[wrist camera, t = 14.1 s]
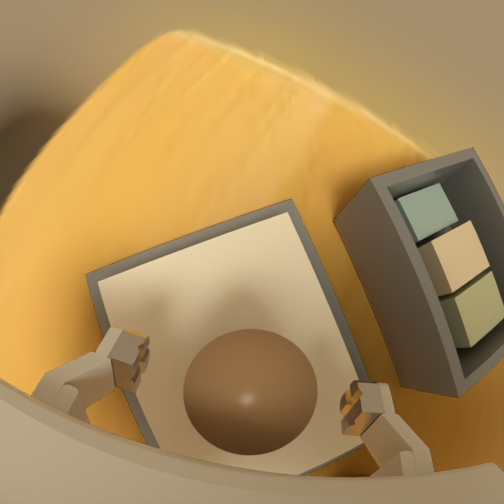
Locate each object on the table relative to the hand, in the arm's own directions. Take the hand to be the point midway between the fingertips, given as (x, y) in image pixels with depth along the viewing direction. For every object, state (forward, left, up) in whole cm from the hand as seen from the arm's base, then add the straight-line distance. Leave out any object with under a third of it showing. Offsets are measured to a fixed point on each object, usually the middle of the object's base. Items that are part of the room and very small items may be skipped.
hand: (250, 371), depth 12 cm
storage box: (-1, -16, -9) cm, 18 cm away
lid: (-1, 0, -9) cm, 9 cm away
